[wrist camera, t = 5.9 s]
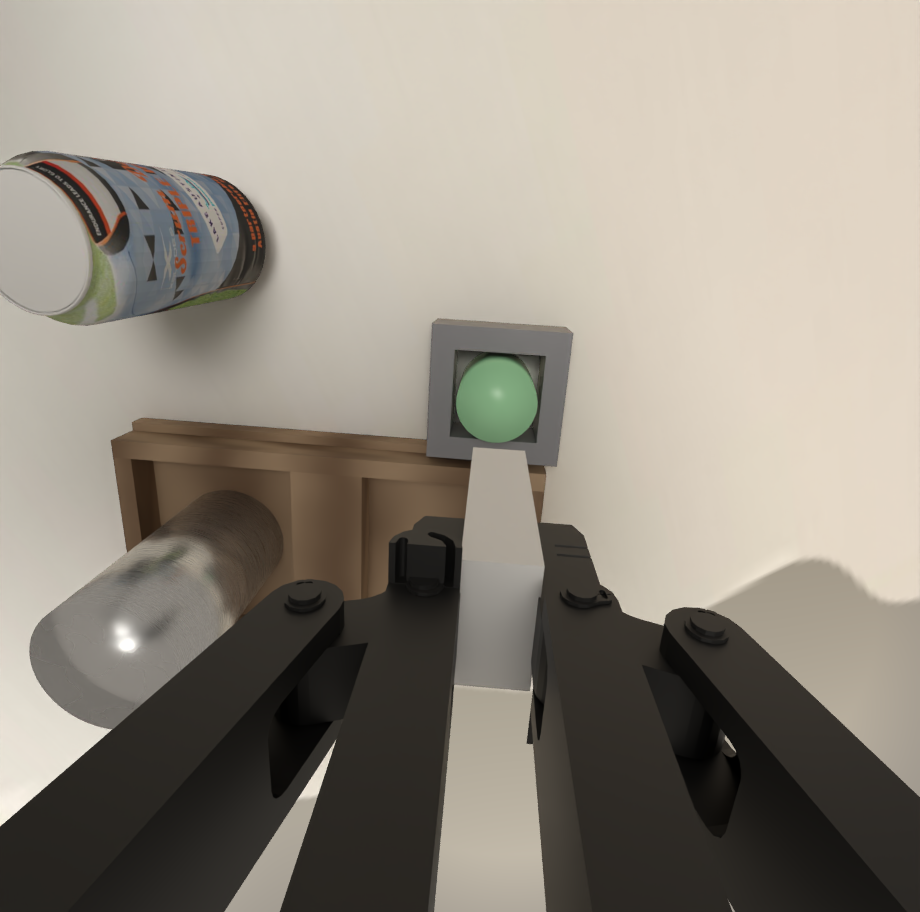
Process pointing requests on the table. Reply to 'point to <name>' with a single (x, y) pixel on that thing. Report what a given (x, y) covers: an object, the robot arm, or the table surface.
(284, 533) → the wooden divided tray
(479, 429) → the button
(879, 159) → the table surface
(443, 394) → the button housing
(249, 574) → the seated billet
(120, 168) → the beverage can
